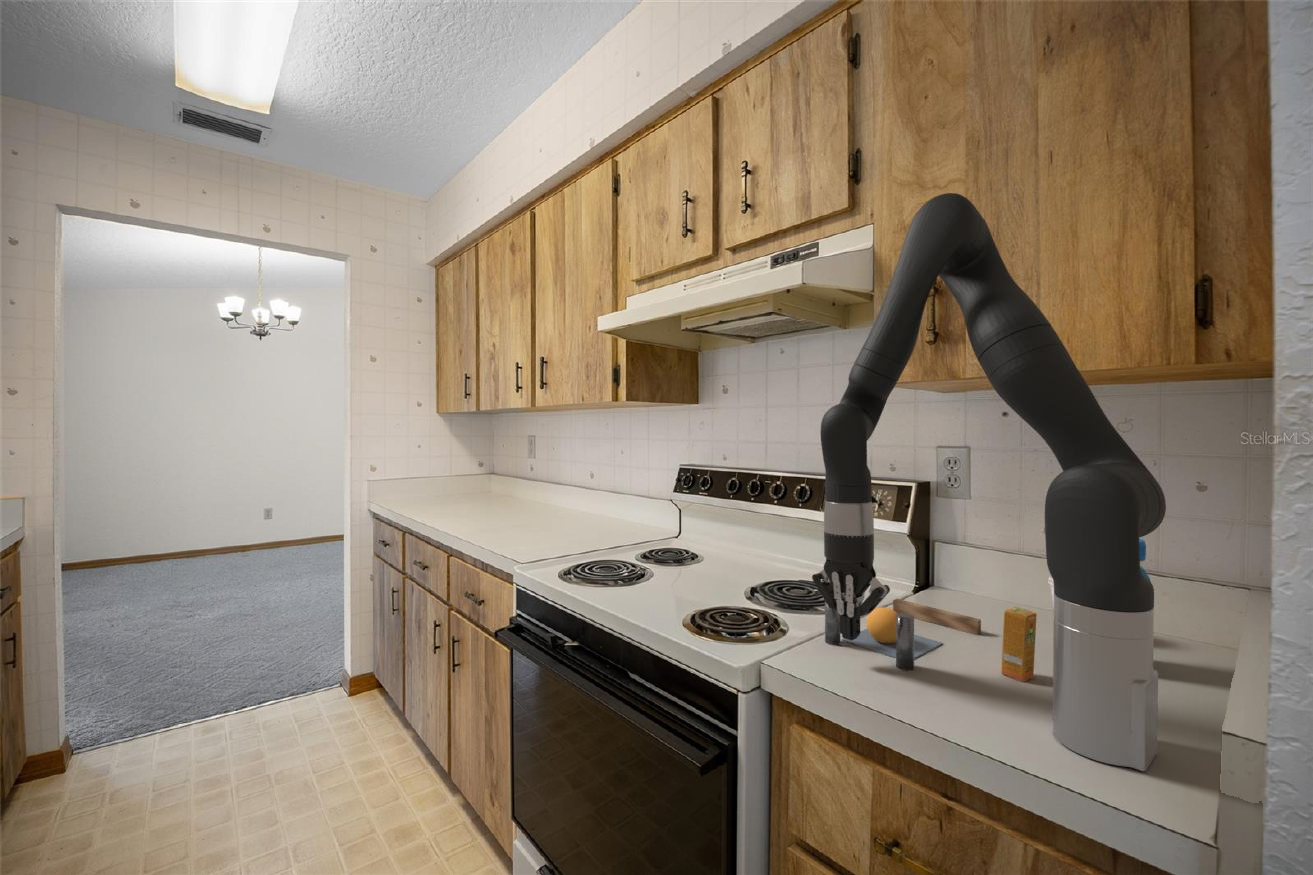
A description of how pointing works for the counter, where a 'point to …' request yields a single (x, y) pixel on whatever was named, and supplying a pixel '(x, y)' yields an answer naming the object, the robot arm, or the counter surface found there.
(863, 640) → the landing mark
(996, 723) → the counter surface
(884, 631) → the ball
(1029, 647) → the supplement box
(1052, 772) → the counter surface
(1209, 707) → the counter surface
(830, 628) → the post outer
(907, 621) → the post inner
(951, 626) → the wall
